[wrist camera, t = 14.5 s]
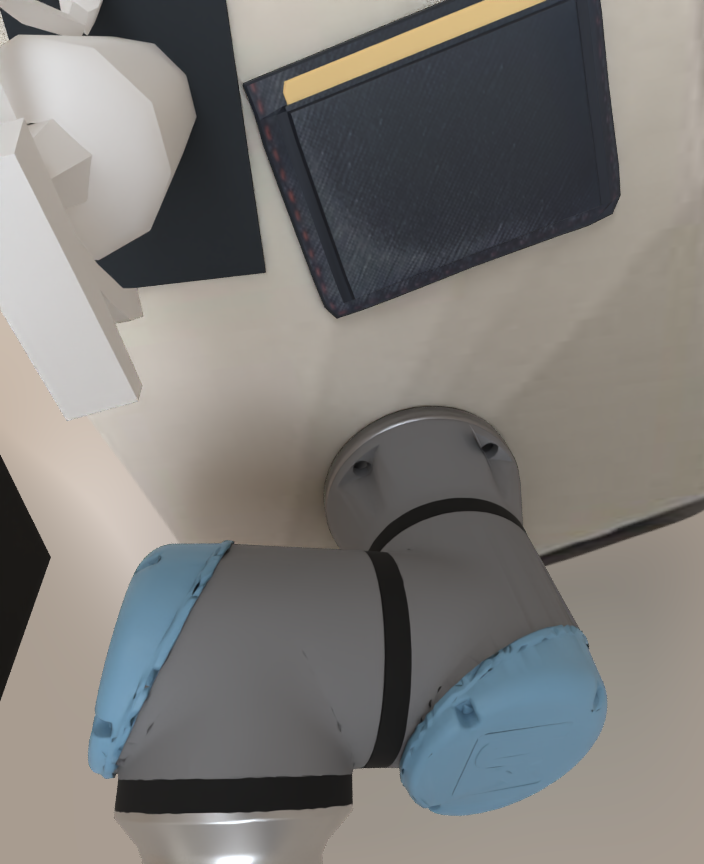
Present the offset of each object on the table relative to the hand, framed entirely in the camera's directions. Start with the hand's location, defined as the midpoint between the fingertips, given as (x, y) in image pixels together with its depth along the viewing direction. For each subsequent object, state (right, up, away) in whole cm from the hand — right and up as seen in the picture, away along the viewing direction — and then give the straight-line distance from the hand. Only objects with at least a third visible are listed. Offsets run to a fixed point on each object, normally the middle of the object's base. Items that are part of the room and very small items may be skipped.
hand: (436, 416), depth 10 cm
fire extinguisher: (-13, +18, +25) cm, 34 cm away
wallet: (+4, +17, +29) cm, 34 cm away
